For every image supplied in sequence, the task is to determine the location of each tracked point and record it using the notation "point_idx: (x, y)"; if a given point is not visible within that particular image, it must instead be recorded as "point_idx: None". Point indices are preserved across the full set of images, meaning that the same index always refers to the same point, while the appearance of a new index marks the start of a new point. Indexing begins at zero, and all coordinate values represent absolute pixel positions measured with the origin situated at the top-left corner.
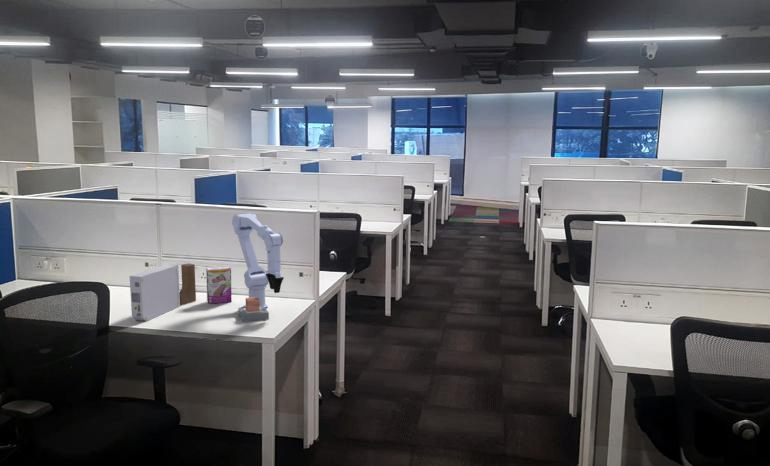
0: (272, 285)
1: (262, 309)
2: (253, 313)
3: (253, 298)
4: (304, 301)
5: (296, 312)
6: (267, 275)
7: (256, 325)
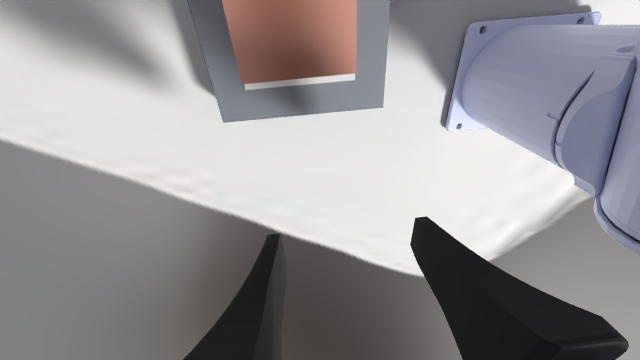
0: (428, 252)
1: (300, 92)
2: (202, 7)
3: (303, 24)
4: None
5: (317, 229)
6: (528, 338)
7: (92, 13)
